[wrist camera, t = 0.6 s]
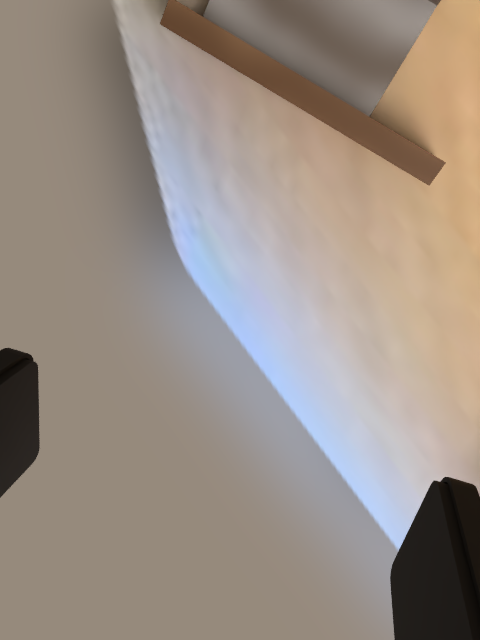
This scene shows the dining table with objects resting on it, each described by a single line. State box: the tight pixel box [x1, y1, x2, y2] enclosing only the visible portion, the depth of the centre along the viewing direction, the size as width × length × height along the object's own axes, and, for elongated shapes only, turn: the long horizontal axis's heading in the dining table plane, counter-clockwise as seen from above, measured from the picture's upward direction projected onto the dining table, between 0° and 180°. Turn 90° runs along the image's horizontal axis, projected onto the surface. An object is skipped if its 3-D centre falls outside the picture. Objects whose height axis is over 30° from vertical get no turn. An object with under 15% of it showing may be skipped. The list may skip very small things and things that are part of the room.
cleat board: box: [160, 0, 446, 185], centre depth 29 cm, size 10×20×4 cm, turn 62°
